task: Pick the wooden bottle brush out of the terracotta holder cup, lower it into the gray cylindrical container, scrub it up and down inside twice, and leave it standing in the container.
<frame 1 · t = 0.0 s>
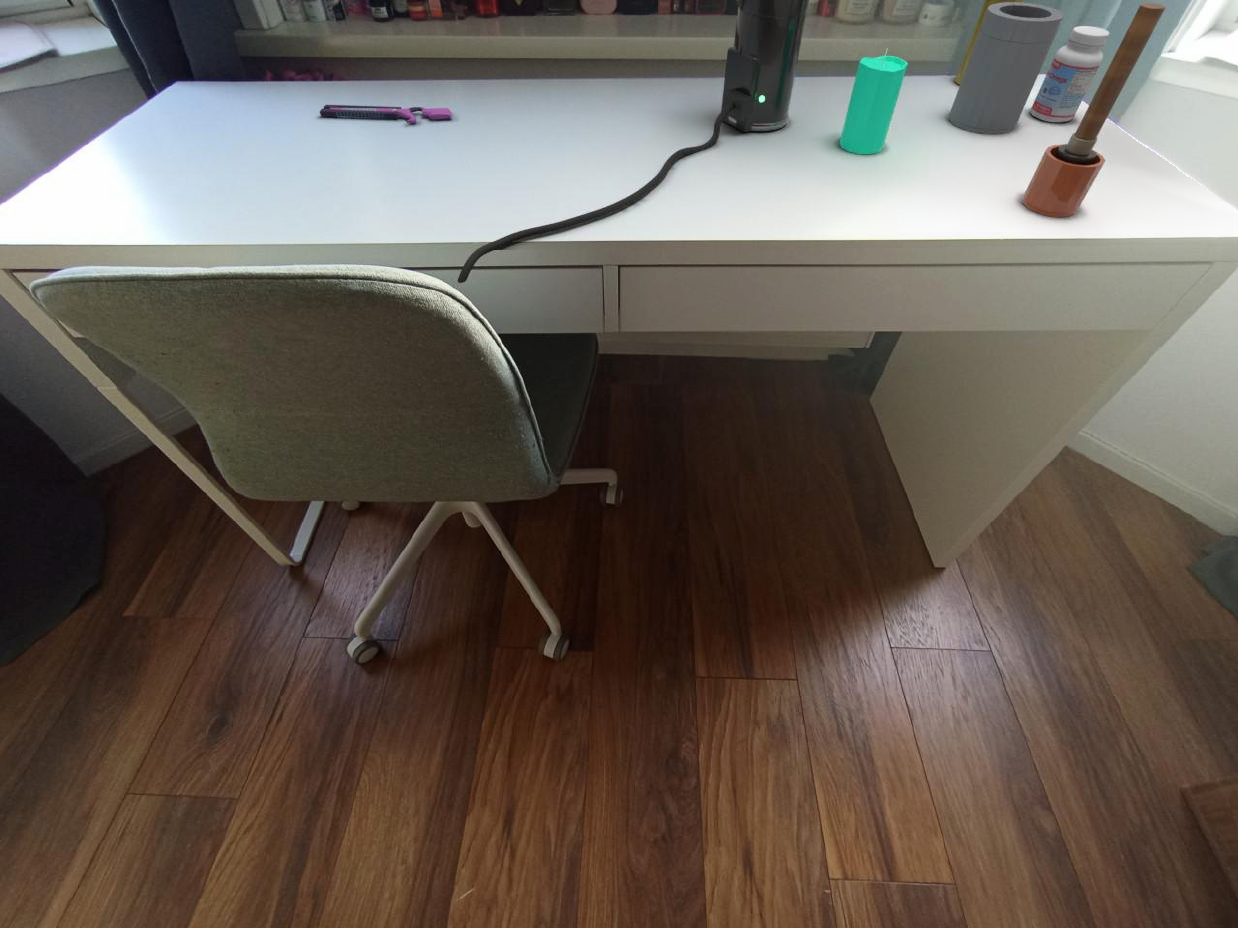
bottle brush: (1096, 113, 71), in the holder
candle: (860, 147, 90), on the table
gray cylindrical container: (981, 122, 96), on the table
pink toy gun: (387, 118, 98), on the table
pill bottle: (1050, 117, 98), on the table
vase: (972, 84, 107), on the table
holder: (1049, 205, 78), on the table
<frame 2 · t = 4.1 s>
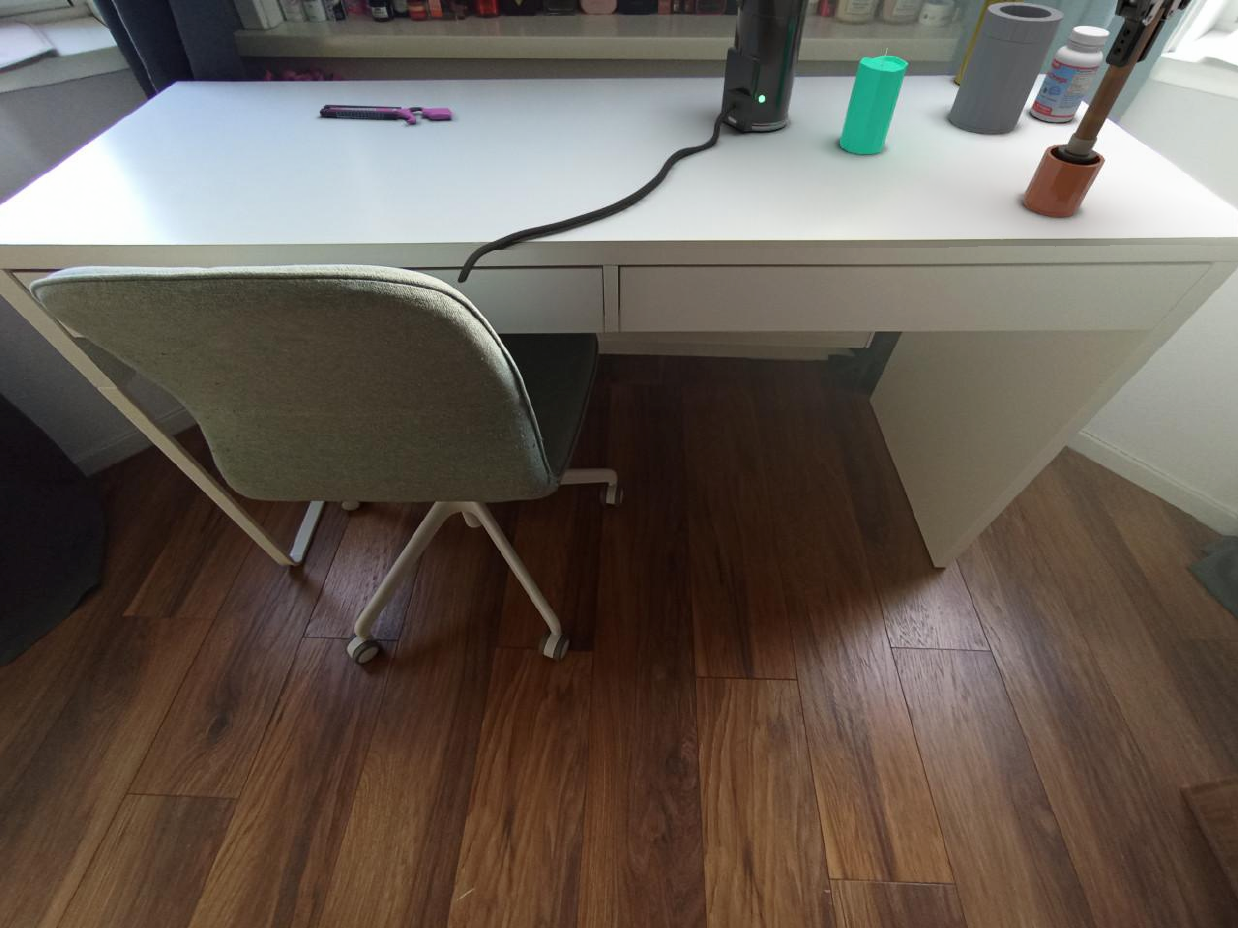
hand: (1123, 62, 67), 16 cm above the table, tool pointing down, fingers closed on bottle brush, 2 cm apart
bottle brush: (1096, 113, 71), in the holder, touching gripper
everything else where it was.
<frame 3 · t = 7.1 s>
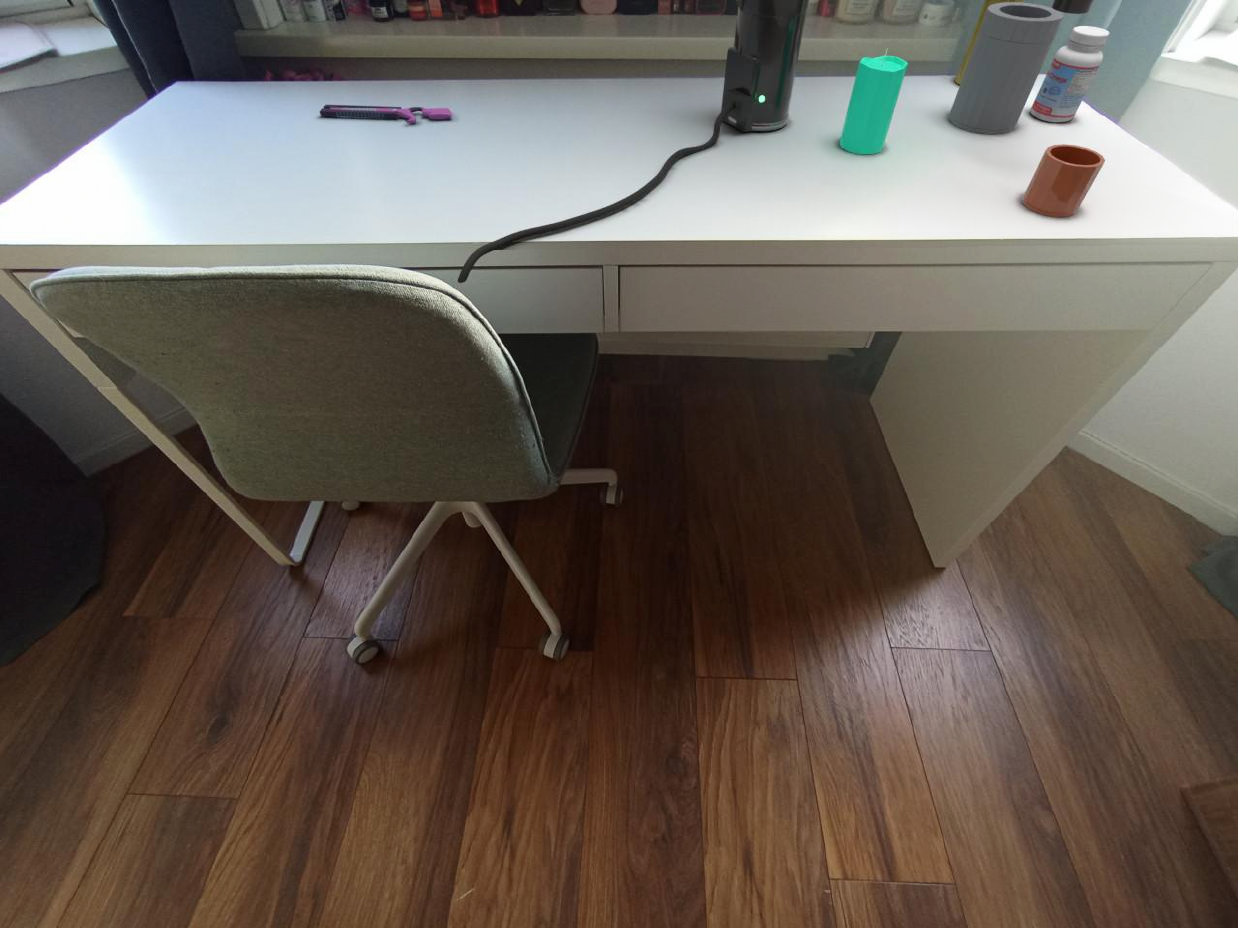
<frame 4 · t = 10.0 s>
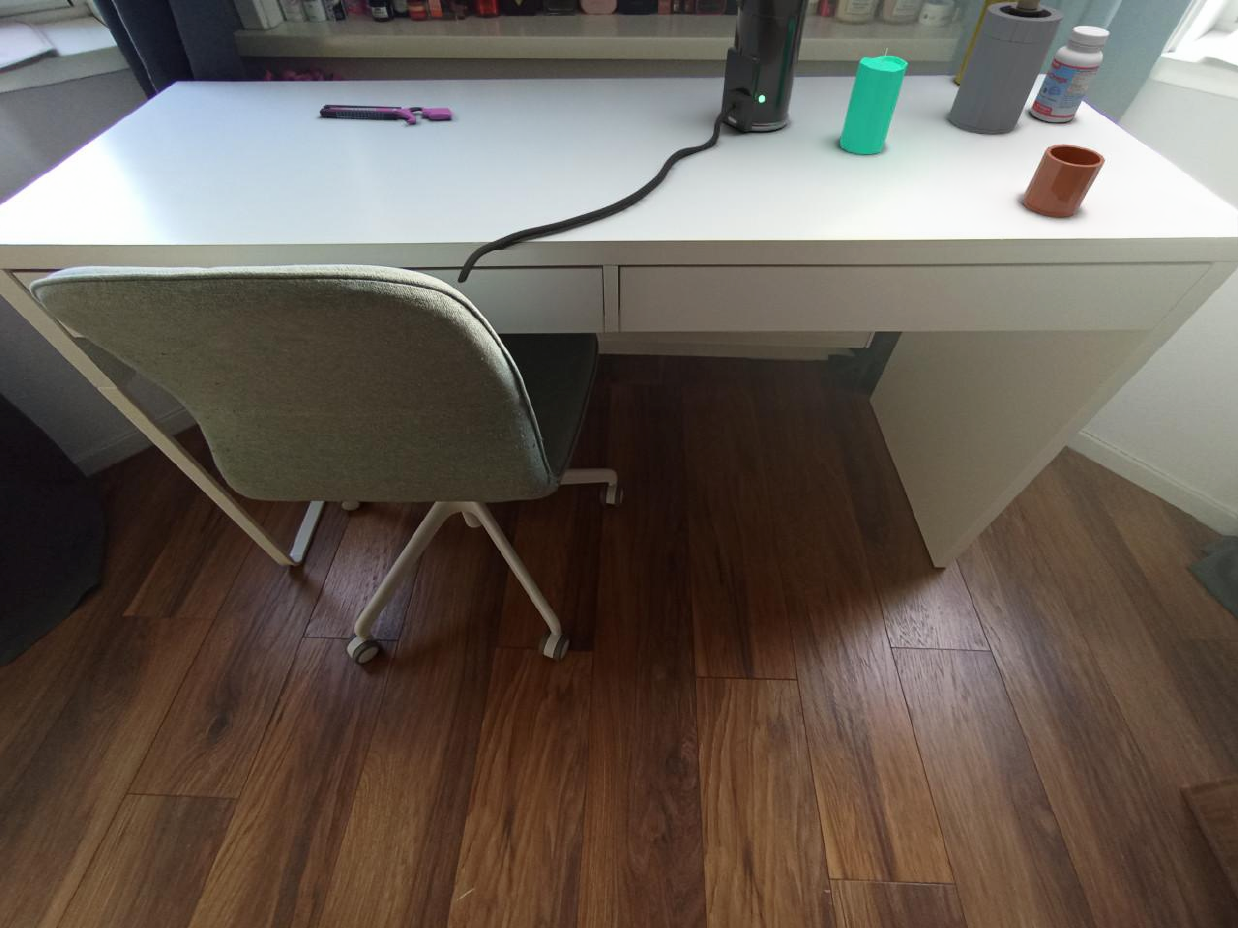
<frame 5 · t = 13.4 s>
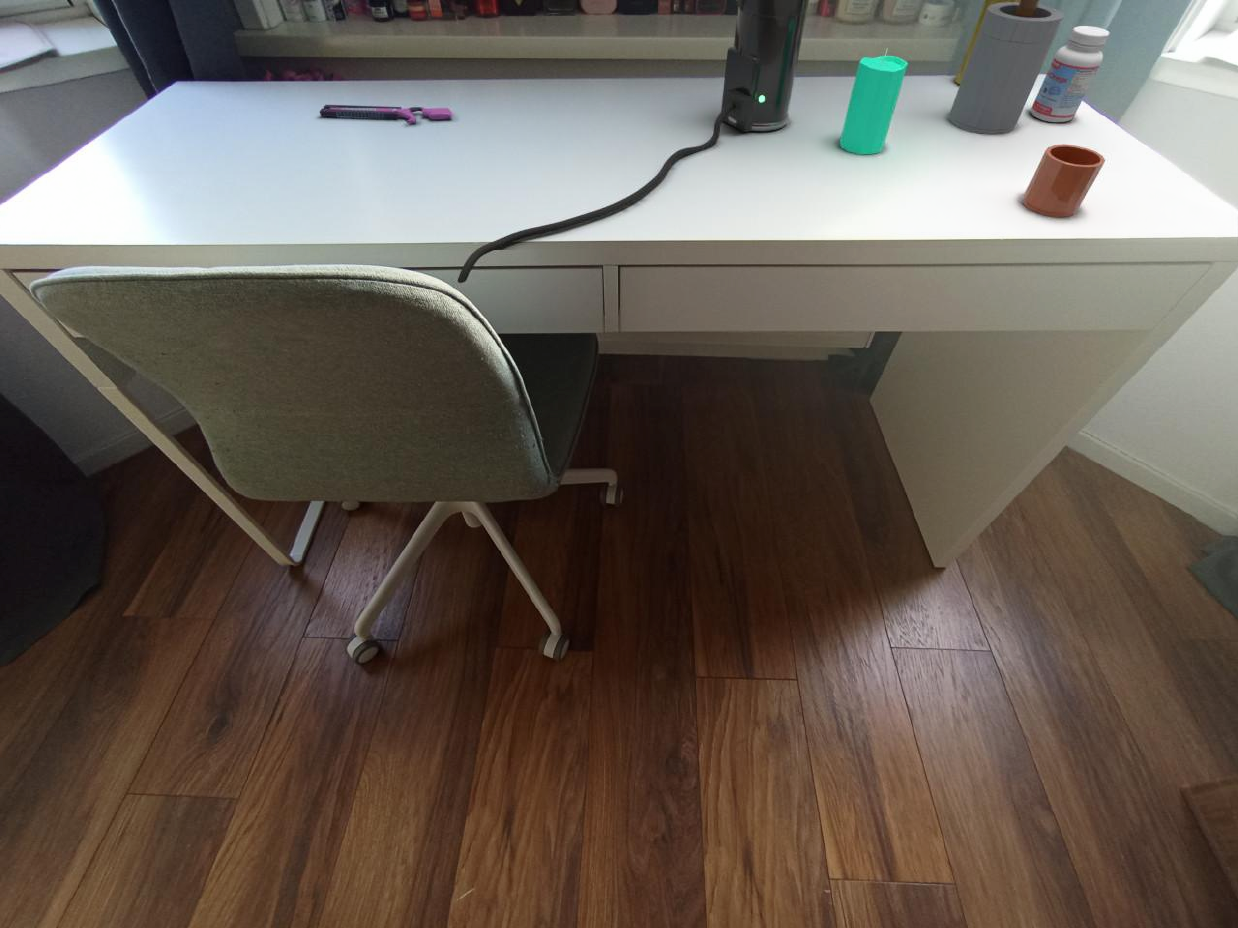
bottle brush: (1025, 12, 86), point 14 cm above the table, touching gripper
everything else where it was.
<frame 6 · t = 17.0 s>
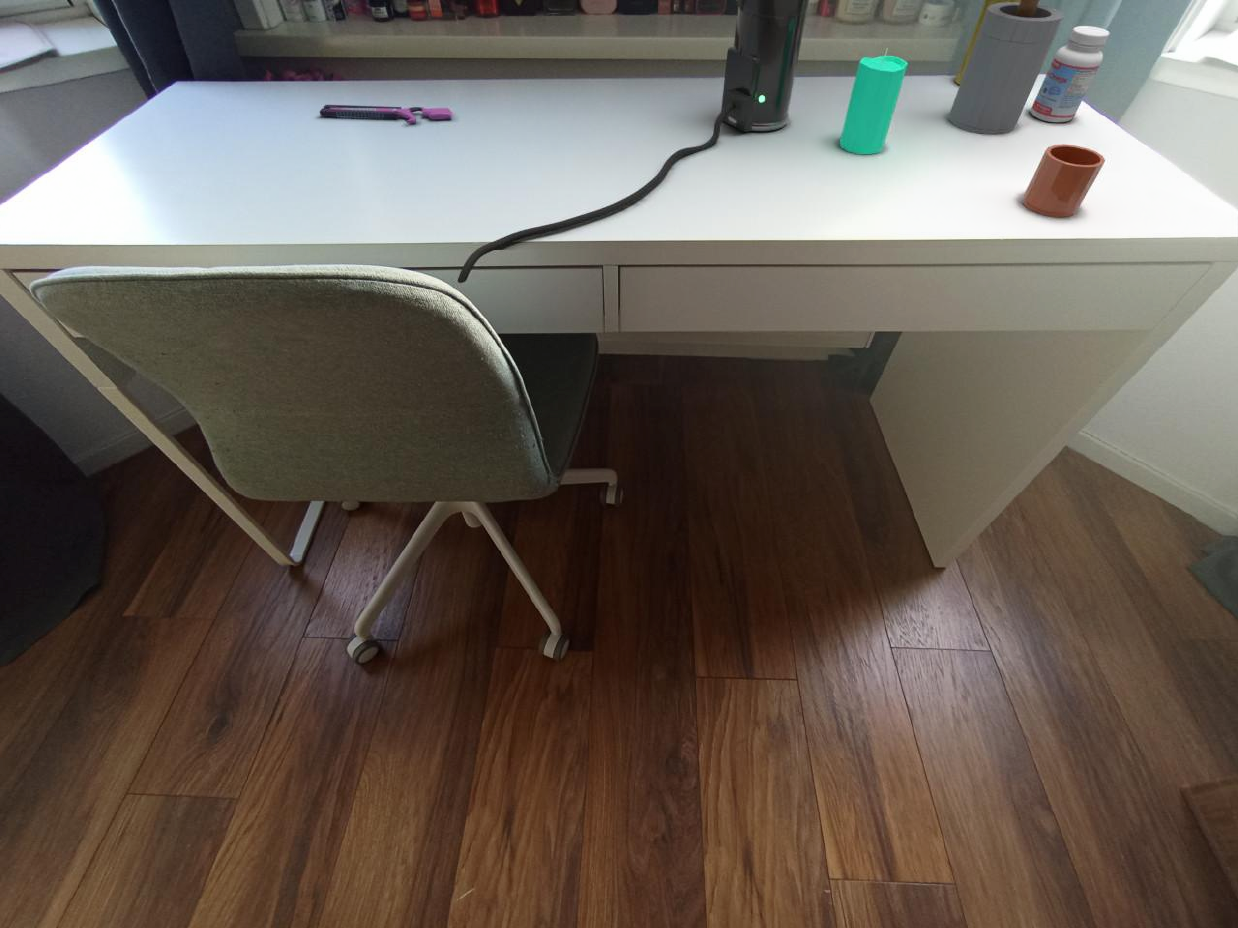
bottle brush: (1014, 40, 88), in the gray cylindrical container, point 11 cm above the table
everything else where it was.
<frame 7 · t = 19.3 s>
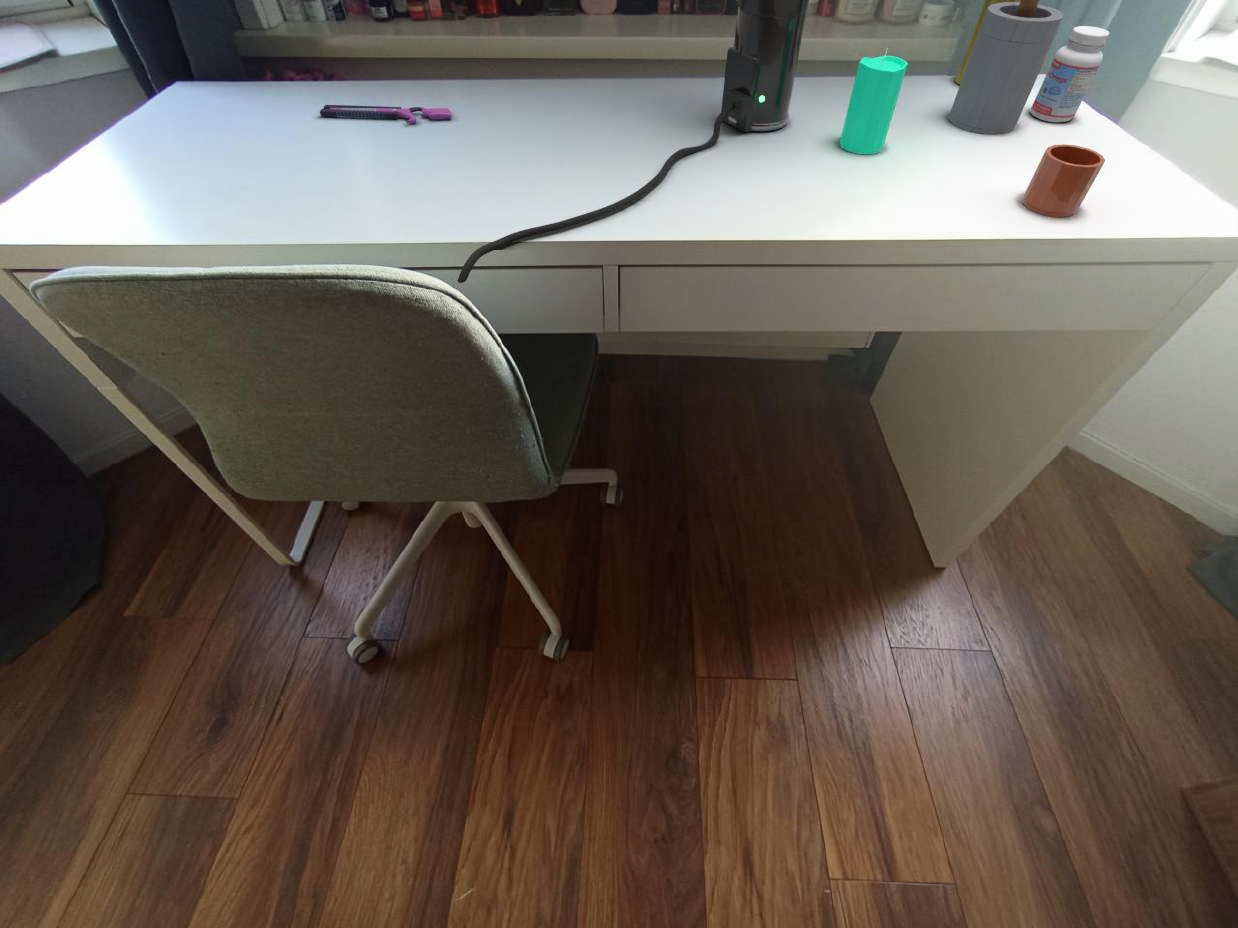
nothing on the table moved.
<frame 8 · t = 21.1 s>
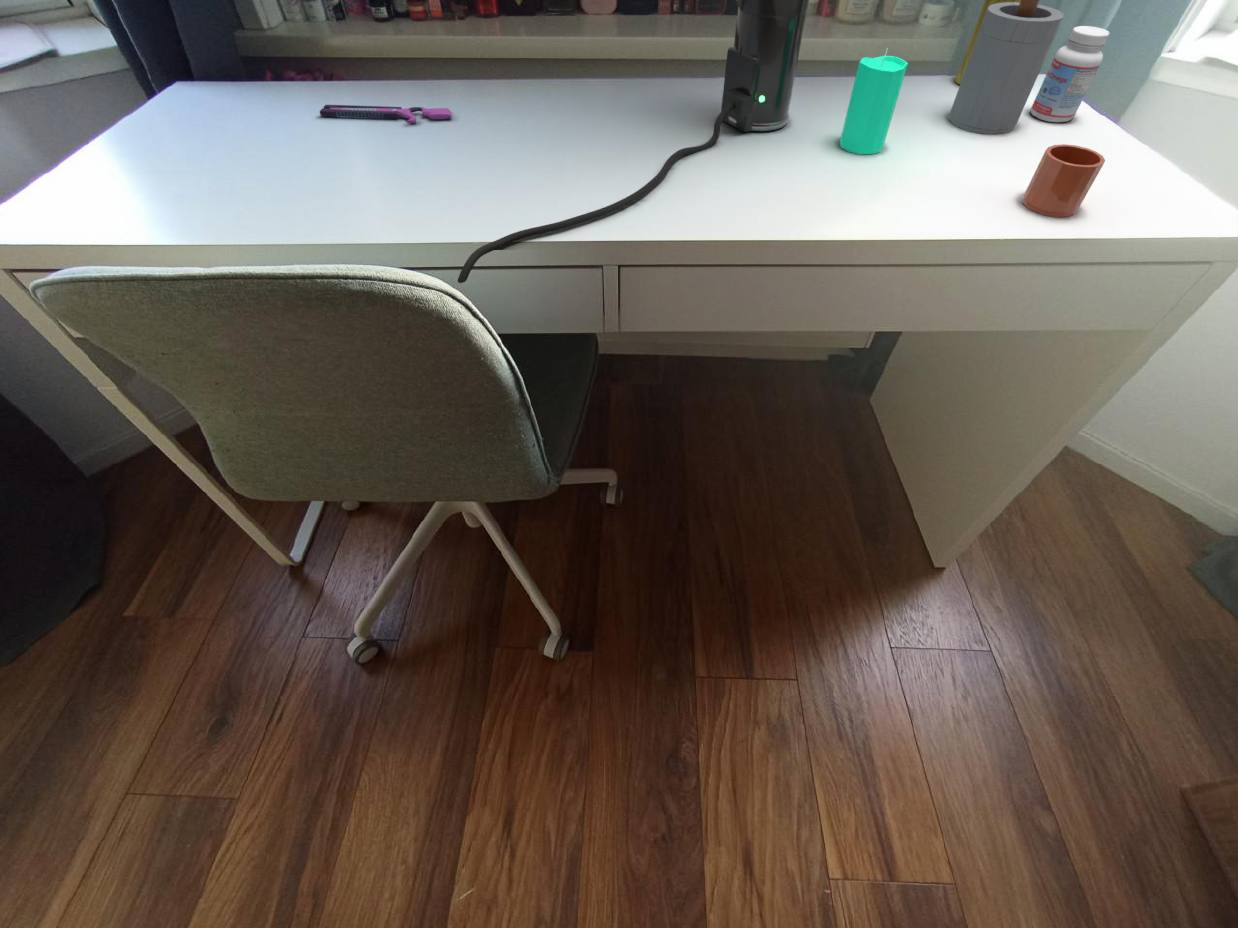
nothing on the table moved.
at the end: bottle brush 0.0 cm off-centre in the gray cylindrical container, point 10.6 cm above the gray cylindrical container's base; the gripper is holding nothing; bottle brush moved 26.6 cm from its start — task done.
